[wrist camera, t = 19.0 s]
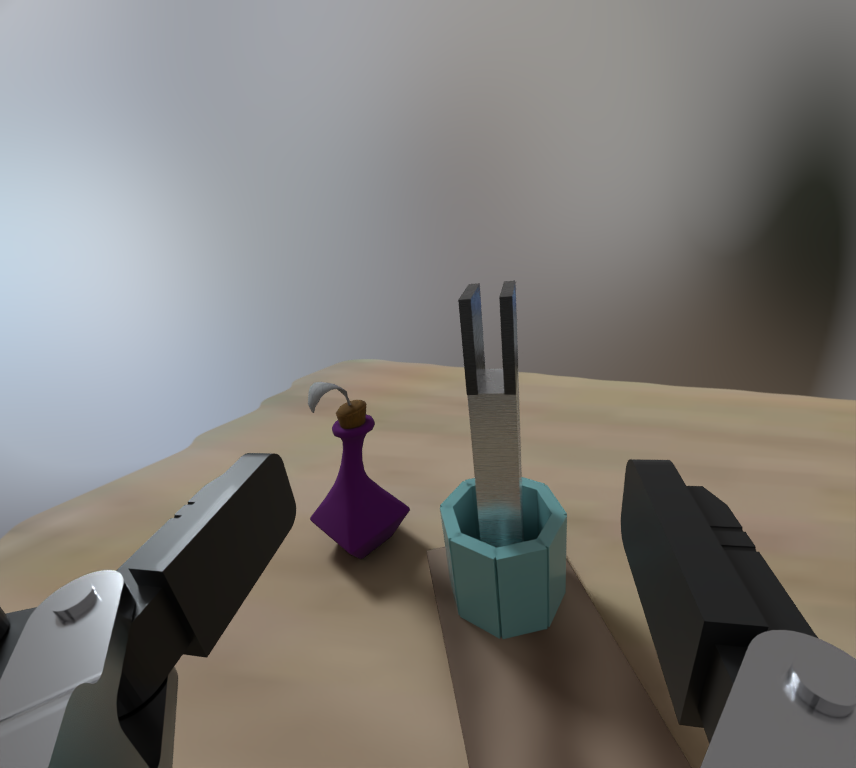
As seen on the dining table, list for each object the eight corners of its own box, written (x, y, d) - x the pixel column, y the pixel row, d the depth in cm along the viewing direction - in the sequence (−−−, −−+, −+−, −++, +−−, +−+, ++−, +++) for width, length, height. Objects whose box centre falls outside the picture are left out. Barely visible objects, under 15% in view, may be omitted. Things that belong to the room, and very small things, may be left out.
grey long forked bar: (481, 597, 33) (453, 299, 23) (486, 554, 37) (464, 284, 27) (527, 602, 32) (517, 295, 22) (528, 558, 36) (520, 280, 26)
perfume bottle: (371, 504, 48) (340, 361, 41) (415, 533, 43) (387, 375, 36) (316, 542, 44) (269, 388, 36) (357, 580, 38) (312, 409, 31)
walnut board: (539, 1122, 15) (539, 1116, 15) (427, 558, 40) (426, 550, 39) (830, 1019, 16) (838, 1011, 16) (546, 533, 41) (546, 525, 40)
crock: (466, 647, 30) (456, 568, 27) (443, 555, 39) (434, 486, 35) (582, 620, 31) (585, 540, 28) (535, 535, 39) (534, 466, 36)
